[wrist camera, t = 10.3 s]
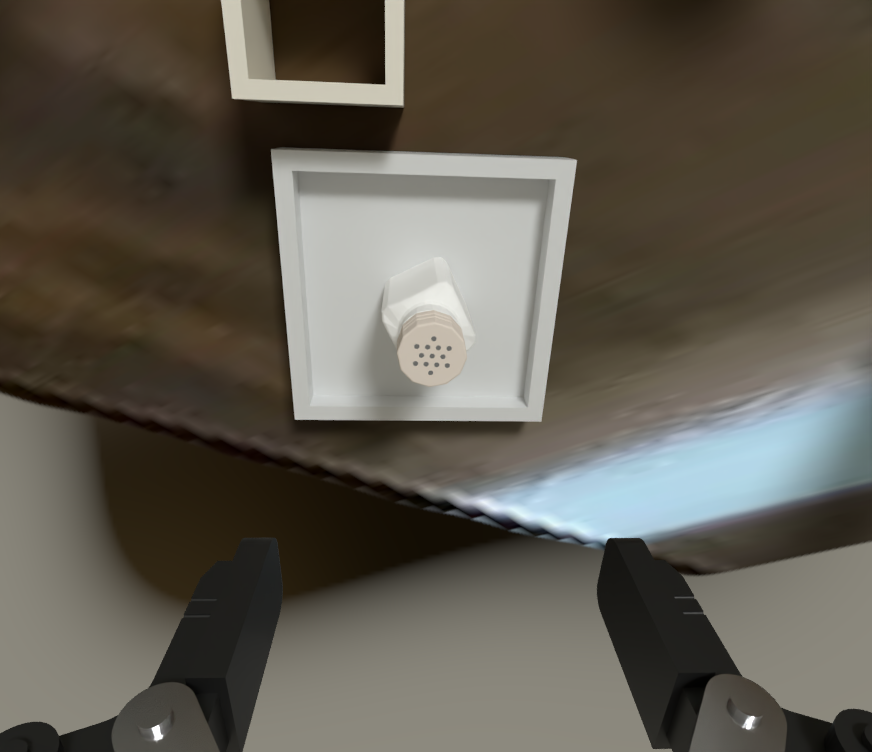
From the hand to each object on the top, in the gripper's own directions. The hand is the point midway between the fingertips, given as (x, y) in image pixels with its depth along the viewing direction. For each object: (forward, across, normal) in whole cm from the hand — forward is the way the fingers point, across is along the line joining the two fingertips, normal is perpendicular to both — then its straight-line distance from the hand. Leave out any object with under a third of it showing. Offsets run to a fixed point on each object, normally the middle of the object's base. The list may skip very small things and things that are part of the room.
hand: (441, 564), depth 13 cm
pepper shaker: (+22, 0, 0) cm, 22 cm away
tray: (+23, 0, 0) cm, 23 cm away
